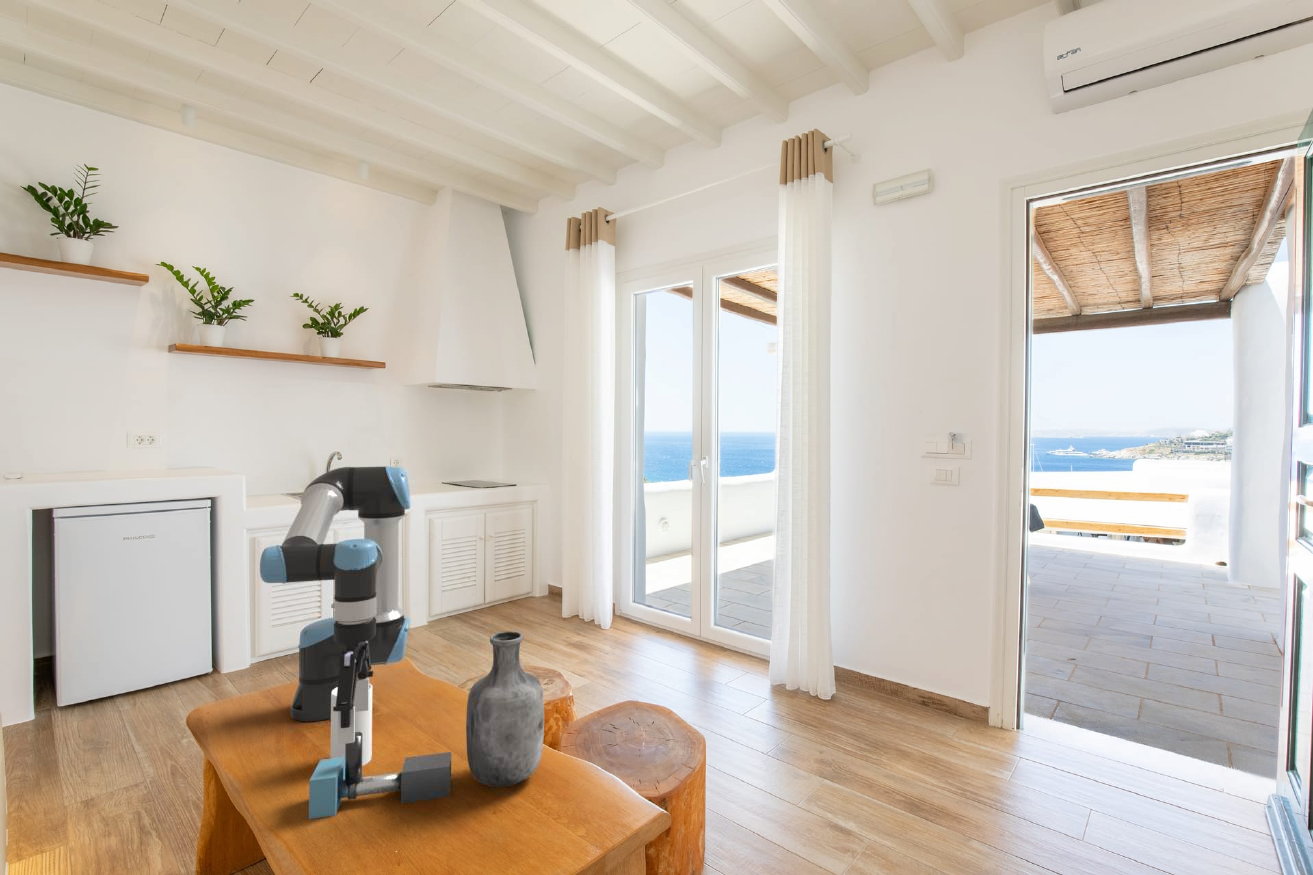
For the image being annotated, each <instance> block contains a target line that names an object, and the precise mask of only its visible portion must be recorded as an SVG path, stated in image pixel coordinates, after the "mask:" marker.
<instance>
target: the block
mask: <svg viewBox="0 0 1313 875" xmlns="http://www.w3.org/2000/svg"><path fill="white" fill-rule="evenodd" d="M451 786H452V751H446V752H440V753H439V752H438V753H432V754H431V753H430V754H424V755H416V756H407V757H405V759H404V762H403V765H402V769H401V790H400V804H405V803H406V804H407V803H412V802H413V803H414V802H415V803H416V802H420V801H427V800H429V801H430V800H435V799H436V800H437V799H442V798H449V797H450V794H451Z"/></svg>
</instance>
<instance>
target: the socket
mask: <svg viewBox="0 0 1313 875" xmlns="http://www.w3.org/2000/svg"><path fill="white" fill-rule="evenodd" d="M338 780H345V757H340V758H332V759H330V758H325V759H319V762H318V764H317V766H316V768H315V770H314V771H313V774H312V775H311V777H310V779H309V782H308V785H309V787H308V788H309V789H308V820H312V819H313V820H314V819H318V818H326V817H333V816H336V815H337V813H338V810H339V808H340V805H341V802H342V800H343V798H341V799H337V789H338Z"/></svg>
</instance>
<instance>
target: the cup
mask: <svg viewBox="0 0 1313 875" xmlns="http://www.w3.org/2000/svg"><path fill="white" fill-rule="evenodd" d="M337 690H338V687H337V688H335V689H333V690H332V692H331V718H330V754H329V756H330V758H329V759H332V758H340V757H345V744H338V711H337V712H336V711H333V707H336V699H337ZM355 732H361V733H362V767H364V766H365V765H367V764H368V763H370V761H372V758H373V756H372V754H373V753H372V752H373V749H372V748H373V747H372V746H373V744H372V743H373V740H372V739H373V685H372V683H370V682H369V710H368V711H359V712H355Z"/></svg>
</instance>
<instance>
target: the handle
mask: <svg viewBox="0 0 1313 875" xmlns="http://www.w3.org/2000/svg"><path fill="white" fill-rule="evenodd" d="M401 772H402V771H401ZM401 772H394V773H385V774H378V775H371V776H364V777H363V766H362V733H361V732H355V741H354V743H347V744H345V780H338V789H337V799H341V798H342V799H348V800H355V799H357V797H361V796H367V795H369V796H370V795H375V794H385V793H391V792H399V791H401Z"/></svg>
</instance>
